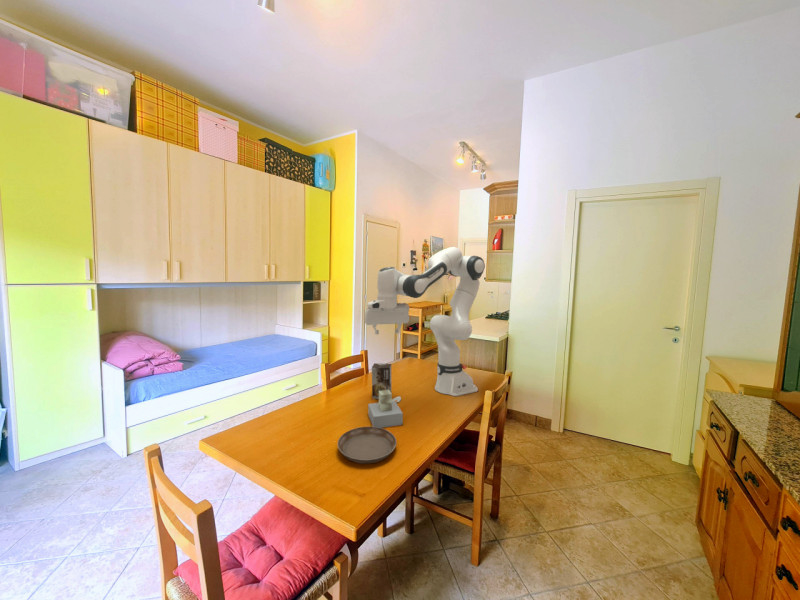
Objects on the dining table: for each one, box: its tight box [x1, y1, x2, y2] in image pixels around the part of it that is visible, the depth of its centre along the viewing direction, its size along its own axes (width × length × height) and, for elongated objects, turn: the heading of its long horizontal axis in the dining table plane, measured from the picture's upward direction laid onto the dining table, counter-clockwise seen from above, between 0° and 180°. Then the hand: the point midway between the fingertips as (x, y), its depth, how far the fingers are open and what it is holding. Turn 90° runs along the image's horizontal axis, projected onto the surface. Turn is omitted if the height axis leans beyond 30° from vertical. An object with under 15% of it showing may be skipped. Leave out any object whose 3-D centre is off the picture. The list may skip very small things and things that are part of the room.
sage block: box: [378, 390, 393, 411], centre depth 131 cm, size 4×4×7 cm
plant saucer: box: [337, 426, 397, 465], centre depth 111 cm, size 21×21×3 cm
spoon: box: [392, 396, 402, 403], centre depth 145 cm, size 4×21×2 cm, turn 146°
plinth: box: [367, 400, 404, 429], centre depth 132 cm, size 12×12×5 cm
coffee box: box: [371, 363, 393, 400], centre depth 154 cm, size 9×6×16 cm
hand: (387, 333), depth 142 cm, fingers open, 8 cm apart
